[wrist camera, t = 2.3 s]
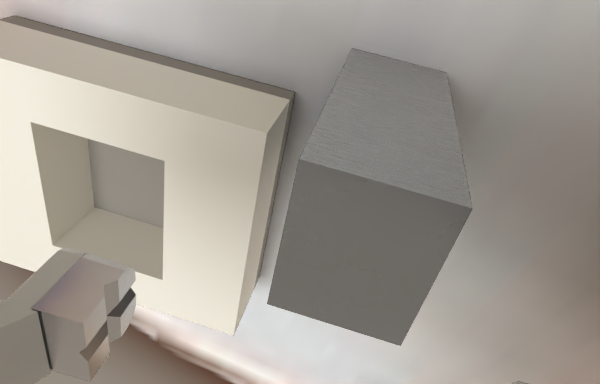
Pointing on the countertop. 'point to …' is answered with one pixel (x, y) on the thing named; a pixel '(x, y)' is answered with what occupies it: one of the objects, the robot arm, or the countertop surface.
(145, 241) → the well block
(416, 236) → the grey brushed prism
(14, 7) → the countertop surface
